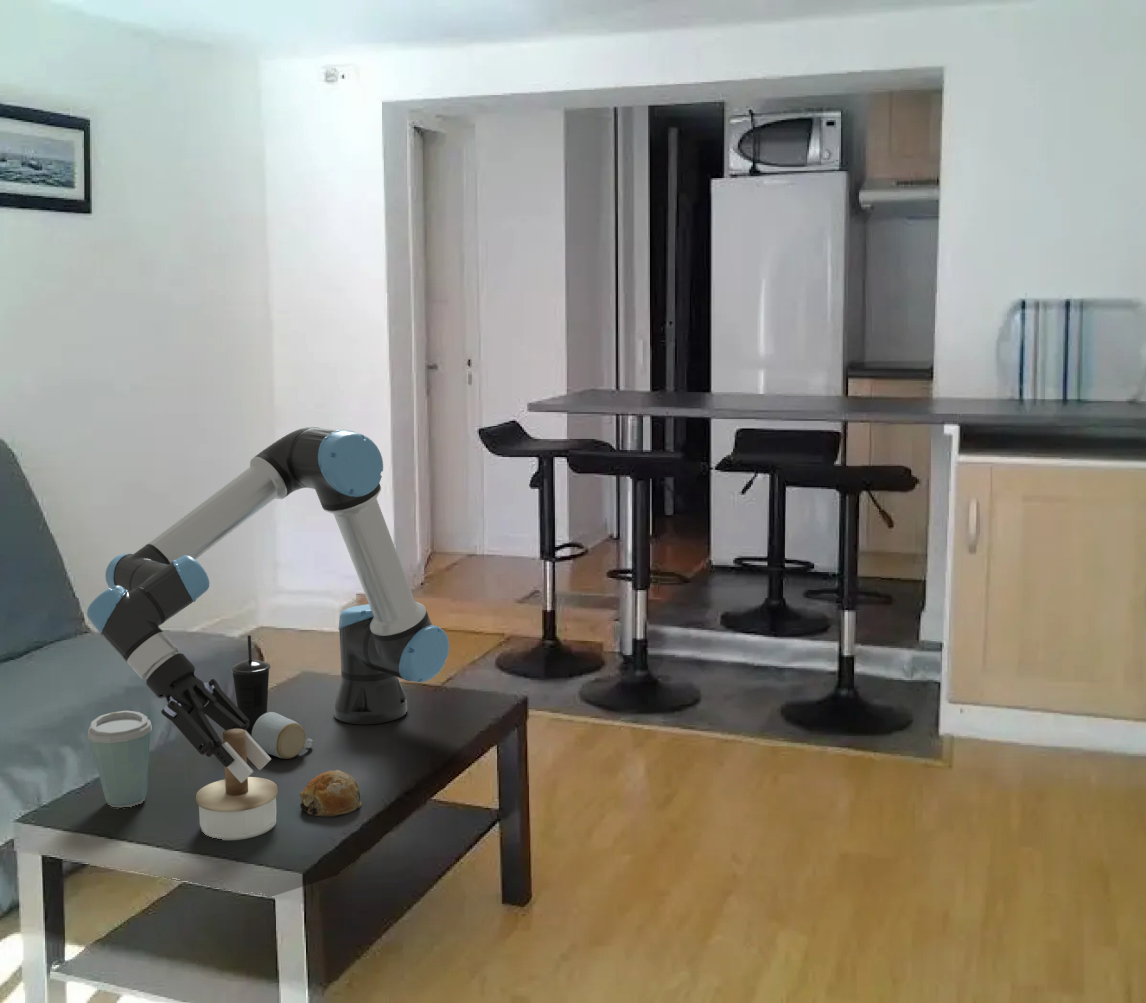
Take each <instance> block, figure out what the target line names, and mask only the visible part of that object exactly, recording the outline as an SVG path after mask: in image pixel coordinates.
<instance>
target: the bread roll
mask: <svg viewBox="0 0 1146 1003" xmlns="http://www.w3.org/2000/svg"><path fill="white" fill-rule="evenodd" d="M299 796H300V799H301V803H300V804H299V805H300V809H301V810H302V811H305V813H307V814H308V815H311V816H316V817H331V818H332V817H337V816H341V815H346V814H349V813H353V812H354V811H356V809H358V808H359V809H360V808H361V807H362V805H363V803H362V801H360V800H361V795H360V788H359V785H358V782H357V780H356V779H355V777H353V776H352V775H351V774H349V773H347V772H344V771H342V770H340V769H336V770H328V771H325V772H321V773H319V774H318V775H316V776H314V777H313V778H312V779H311V780H310V781H309V782H307V784H306V786H305V787H304V788H303V790H302V791H301V792H300V794H299Z"/></svg>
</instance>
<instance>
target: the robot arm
mask: <svg viewBox="0 0 1146 1003" xmlns="http://www.w3.org/2000/svg"><path fill="white" fill-rule="evenodd" d="M382 472H384V461H383V457H382V454H381V451H380V449H379V447H378V446H377V445H376V443H375V442H374V441H373V440H372V439H371V438H369V437H368V436H366V435H364V434H362V433H358V432H356V431H353V430H347V429H339V430H337V429H329V428H323V427H322V428H321V427H314V426H308V427H304V428H303V427H302V428H299V429H297V430H294V431H292V432H289V433H288V434H285V436H282V437H281V438H280V439H278V440H276V441H274V442H273V443H271V444H270V445H268V446H267V447H266V448H264V449H263V450H262V451H260V452H259V453H258V454H257V455H255V456H253V457H252V458H251V459H250V461H249V467H248V468H247V469H245V470H244V471H243V472H241V473H240V474H239V475H237V476H236V477H234V479H232V480H231V481H229V482H228V483H226V485H224V486H223V487H221V488H220V489H219V490H217V491H216V492H215V493H213V494H212V495H211V496H209V497H208V498H207V499H206V500H204V501H202V502H201V503H200V504H199V505H197V506H196V507H194V508H193V509H192V510H191V511H189V512H188V513H187V514H185V515H184V516H183V517H182V518H180V519H179V520H177V521H176V522H175V523H174V524H172V525H171V526H169V527H168V528H167V529H165V530H164V531H163V532H161V533H159V535H158V536H156V537H155V538H153V539H151V541H149V542H148V543H147V544H145V545H144V546H143V547H141V548H140V549H138V550H137V551H136V552H134V553H127V554H126V553H122V554H120V555H117V556H115V557H114V558H112V559H111V560H110V562H109V563H108V565H107V567H106V569H105V576H104V577H105V582H106V584H107V586H108V588H107V589H105V590H104V591H103V592H102V593H100V594H99V595H98V596H96V598H94V599H93V600H92V602H91V603H90V604H89V606H88V607H87V609H86V610H87V611H86V617H87V618H88V620H89V621H90V622H91V624H92V625H93V627H95V629H96V630H97V632H99V635H100V636H101V637H103V639H104V640H106V642H108V643H109V645H110V646H111V647H113V649H114V650H115V651H116V652H117V653H118V654H119V655H120V656H121V657H122V658H123V660H124V661H125V662H126V663H127V664H128V665H129V666H130V667H131V668H132V670H133V671H134V672H135V673H136V674H137V675H138V677H139V678H140V679H141V680H146V682H145V685H146V686H147V687H148V689H150V690H151V691H152V693H153V694H155V696H156V698H159V699H164V698H165V699H166V702H167V704H166V705H165V706H164V707H163V708H162V710H160V713H161V715H162V716H164V717H166V718H167V720H170V721H171V722H172V723H173V725H174V726H176V728H177V729H178V730H179V731H180V733H182V735H183V736H184V737H185V738H186V740H188V742H189V743H190V744H191V745H192V746H193V747H194V749H196V751H197V752H198V753H199V754H200V755H203V756H204V755H205V756H206V757H208V758H210V757H211V756H212V755H213V756H215V757H216V759H217V760H218V761H219V762H220V763H221V764H222V765H223V767H224V766H225V767H227V768H228V769H229V770H230V771H231V772H232V774H233V775H234V776H235V777H236V778H237V779H238V780H239V781H240V783H242V782H244V781H245V780H246V779H247V778H248V777H251V774H253V773H254V770H253V769H252V767H250V766H249V765H248V763H247V764H246V762H245V761H244V760H243V759H242V758H241V757H240V756H239V755H238V754H237V752H236V751H235V750H234V749H233V748H232V747H231V746H230V745H229V744H228V742H225V743H224V744H223V740H221V738H220V736H219V735H218V733H217V732H216V730H215V728H214V727H213V726H212V724H211V722H210V721H209V719H211V720H212V721H213V722H215V723H216V724H217V725H218V726H220V727H221V728H222V729H223V731H226V730H229V729H243V730H245V735H246V755H247V759H248V760H250V762H251V763H252V764H253V765H254V766H255V767H256V768H257V770H258V771H261V770H262V769H263V768H264V767H265V766H266V765H267V764H268V763H269V762H270V761H271V760H272V758H271V757H270V756H269V754H268V753H266V752H265V751H264V750H263V749H262V748H261V747H260V746H259V745H258V743H257V741H256V740H255V739H254V738H253V737H252V736H251V735H250V734H249V732H248V731H247V730H246V729H247V728H248V727H249V722H250V721H249V719H248V718H247V717H246V716H245V715H244V714H243V713H242V712H241V710H240V709H239V708H238V706H237V705H236V704H235V703H234V701H232V699H231V698H230V697H228V695H227V694H226V693H225V691H223V690H222V687H220V685H219V684H218V682H217V680H216V679H215V678H212V679H210V680H209V681H208V682H203V680H201V679H200V678H198V677H197V676H196V675H195V671H196V667H195V665H194V664H193V663H192V662H191V661H190V660H189V659H188V658H187V656H186V655H185V654H184V653H180V652H179V647H178V645H176V644H175V643H174V642H173V641H172V640H171V638H169V636H168V635H167V634H166V633H165V632H164V631H163V629H161V628H160V626H161V625H163V624H164V623H165V622H166V621H168V620H169V619H171V618H172V617H174V616H175V615H176V614H178V613H180V612H181V611H182V610H184V609H186V607H188V606H189V605H191V604H192V603H195V602H196V601H197V600H198V599H199V598H200V597H201V596H203V594H205V593H206V592H207V591H208V590H209V588H210V579H209V576H208V574H207V572H206V571H205V569H204V568H203V566H202V565H201V564H200V563H199V561H197V559H198V558H200V557H201V556H203V554H205V553H207V551H208V550H210V549H211V548H212V547H213V546H215V545H217V543H220V541H221V540H223V539H224V538H225V537H227V536H228V535H230V534H231V533H232V532H233V531H235V530H236V529H237V528H239V527H240V526H241V525H242V524H243V523H245V522H246V521H248V520H250V518H251V517H253V516H254V515H255V514H257V513H258V512H259V511H260V510H262V509H263V508H265V507H266V506H267V505H268V504H270V503H271V502H272V501H274V500H275V499H277V500H283V499H285V498H286V497H287V496H289V495H290V494H292V493H293V492H296V491H299V490H301V489H306V488H308V489H312V490H315V493H316V494H317V495H316V496H317V498H318V500H319V502H320V505H321V508H322V509H323V510H324V511H325V512H327V513H329V514H332V515H334V518H335V521H336V523H337V526H338V529H339V531H340V534H341V536H342V538H343V541H344V544H345V547H346V550H347V551H348V553H349V556H350V558H351V562H352V564H353V567H354V570H355V572H356V575H357V577H358V580H359V583H360V585H361V588H362V590H363V592H364V595H365V597H366V600H367V603H366V604H361V605H356V606H350V607H348V608H346V609H344V610H342V611H341V612H340V615H339V620H338V621H339V622H338V623H339V624H338V631H339V648H340V649H339V652H340V654H339V655H340V672H341V673H340V674H341V675H340V676H341V678H340V679H341V680H340V683H339V686H338V690H337V694H336V696H335V700H334V704H333V713H334V714H333V715H334V718H335V719H336V720H338V721H340V722H343V723H346V724H353V725H375V724H376V725H377V724H383V723H384V722H385V723H388V722H389V723H390V722H393V721H395V720H398V719H400V718H403V717H404V716H405V715H407V713H406V712H408V702H407V700H408V699H407V698H406V695H405V693H404V690H403V687H402V684H401V680H400V679H402V680H405V681H407V682H415V683H424V682H428V681H430V680H432V679H434V678H435V677H436V676H438V674H439V673H440V672H441V671H442V670H443V668H444V666H445V664H446V660H447V658H449V653H450V641H449V637H448V634H447V633H446V632H445V630H443V628H441V627H440V626H438V625H435V624H434V625H433V624H432V622H431V619H430V616H429V613H428V611H427V608H426V607H425V605H424V604H423V603H421V602H418V601H415V598H414V596H413V593H412V589H411V588H410V587H411V586H410V585H409V581H408V579H407V577H406V573H405V572H404V568H403V566H402V563H401V560H400V558H399V554H398V552H397V550H396V547H395V543H394V541H393V539H392V536H391V534H390V531H389V527H388V525H387V523H386V520H385V518H384V514H383V512H382V510H381V507H380V504H379V502H378V496H379V494H380V493H381V491H382V487H381V483H380V482H381V480H382V477H383V476H382V475H381V474H382Z"/></svg>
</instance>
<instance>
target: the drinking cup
mask: <svg viewBox="0 0 1146 1003" xmlns="http://www.w3.org/2000/svg"><path fill="white" fill-rule="evenodd" d="M247 652H248V653H247V654H248V657H247V658H248V659H247V660H242V661H240V662H238V663H237V664H234V665H233V666H231V668H230V672H231V673H232V678H233V684H234V690H235V691H234V692H235V698H236V704H237V705H236V706H237V707H238V708H239V709H240V710H241V712H242V713H243V714H244V715H245V716H246V717H247V718H248V719H249V721H250V722H249V727H248V728H247V729H246V730H247V731H248V732H249V734H250V735H251V736H252V729H253V726H254V724H255V722H256V721H257V720H258V718H259V717H260V716H262V715H263V714H265V713H268V698H269V678H270V677H269V675H270V670H271V664H270V663H269V662H266V661H262V660H259V659H253V653H252V652H253V650H252V636H251V635H247Z"/></svg>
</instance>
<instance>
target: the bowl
mask: <svg viewBox="0 0 1146 1003" xmlns="http://www.w3.org/2000/svg"><path fill="white" fill-rule="evenodd" d="M198 812H199V813H198V814H199V826H200V830H201V833H202V832H203V833H204V834H205V835H207V836H209V837H212V838H211V839H213V838H217V839H222V840H221V841H241V840H246V839H251V838H256V837H258V836H262V835H264V834H265V833H268V832H269V831H271V830H272V829H273V828H274V827H275V826H276V824H277V797H276V798H274V799H273V800H272V801H271V802H269V803H267V804H265V805H263V806H260V807H257V808H253V809H249V810H244V811H235V812H217V811H210V810H207V809H204V808H202V807H200V806H199V805H198ZM203 833H202V834H203ZM204 834H203V835H204ZM205 835H204V836H205ZM207 836H206V837H207ZM209 837H208V838H209ZM217 839H216V840H217Z"/></svg>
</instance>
